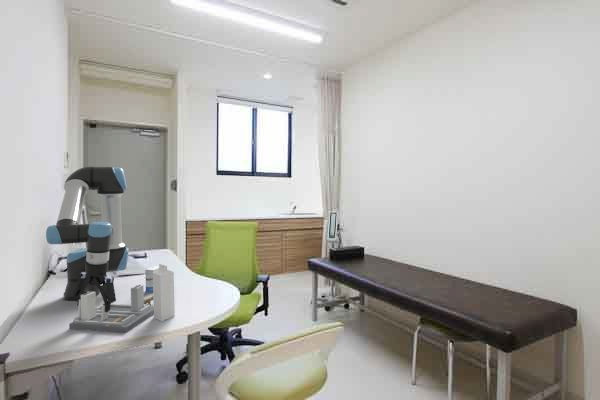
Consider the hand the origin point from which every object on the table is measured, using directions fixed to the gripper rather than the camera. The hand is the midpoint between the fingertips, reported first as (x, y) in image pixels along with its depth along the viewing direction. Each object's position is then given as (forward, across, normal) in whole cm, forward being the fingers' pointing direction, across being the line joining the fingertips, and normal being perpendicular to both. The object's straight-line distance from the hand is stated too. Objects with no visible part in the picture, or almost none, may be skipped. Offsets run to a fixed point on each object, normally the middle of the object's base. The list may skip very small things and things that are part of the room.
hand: (92, 316), depth 123 cm
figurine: (+2, +8, +21) cm, 23 cm away
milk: (0, +24, +11) cm, 26 cm away
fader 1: (+1, -2, 0) cm, 2 cm away
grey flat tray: (+2, +6, +5) cm, 9 cm away
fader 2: (0, +12, +10) cm, 16 cm away
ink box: (+4, -1, +42) cm, 42 cm away
